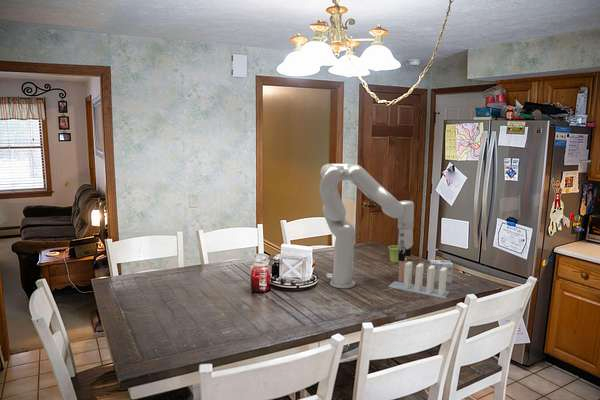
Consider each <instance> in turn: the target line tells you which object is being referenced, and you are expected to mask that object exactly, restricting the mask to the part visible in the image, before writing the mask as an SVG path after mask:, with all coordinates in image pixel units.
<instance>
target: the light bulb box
mask: <svg viewBox="0 0 600 400" xmlns="http://www.w3.org/2000/svg"><path fill="white" fill-rule="evenodd" d="M431 265H434V266H435V278H434V283H439V274H440V270H441V268H442V267H446V268H447V278H446V283H453V273H454V272H453V269H454V263H453V262H452V261H451V260H441V259H429V267H430V266H431Z"/></svg>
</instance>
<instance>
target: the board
mask: <svg viewBox="0 0 600 400" xmlns="http://www.w3.org/2000/svg"><path fill="white" fill-rule="evenodd" d="M403 285H404V282H400V281H398V280H397V281H396V280H394V281H392V282H391V283H390V285H388V288H392V289H397V290H402V291H407V292H413V293H418V294H423V295H426V296H432V297H437V298H441V299H442V298H443V299H446V297H447V296H448V295H449V293H450V291H448V290H446V291H445V293H444V295H443V296H439V295H438V289H437V288H434V290H433V291H432V292H431V294H429V293H426V287H427V286H424V285H422V288H421V290H420V291H415V284H412V283H411V286H410V287H409V288H408V289H404V288H403Z"/></svg>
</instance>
